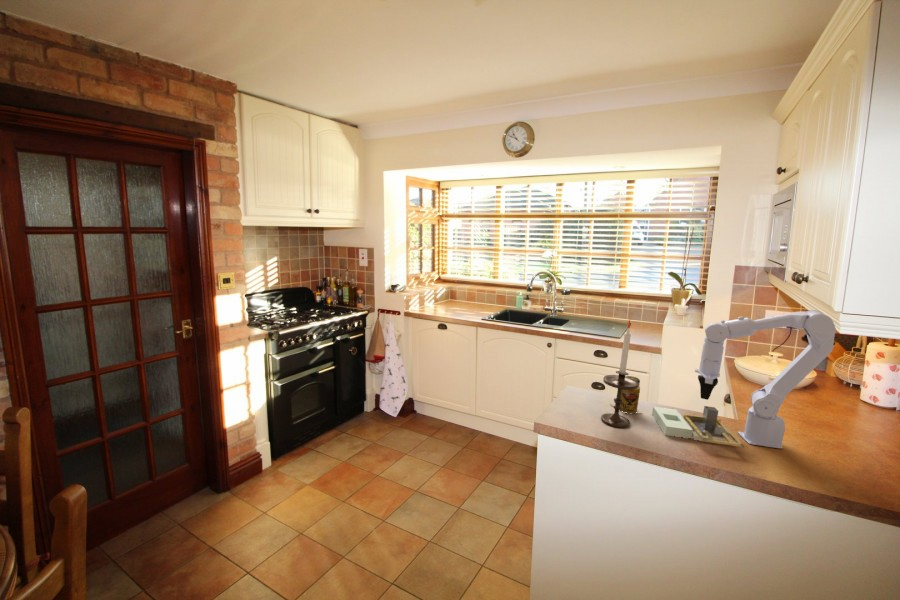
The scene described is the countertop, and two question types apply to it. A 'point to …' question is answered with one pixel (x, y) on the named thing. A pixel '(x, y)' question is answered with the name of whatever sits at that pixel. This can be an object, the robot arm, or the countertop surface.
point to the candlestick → (620, 387)
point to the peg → (709, 422)
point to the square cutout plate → (672, 422)
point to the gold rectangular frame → (699, 419)
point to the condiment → (630, 399)
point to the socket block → (711, 435)
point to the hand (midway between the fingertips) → (704, 398)
